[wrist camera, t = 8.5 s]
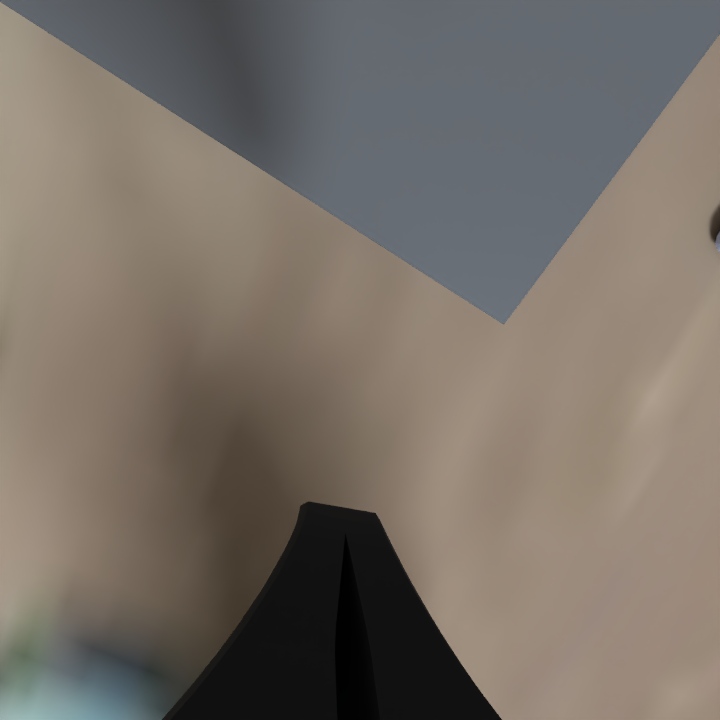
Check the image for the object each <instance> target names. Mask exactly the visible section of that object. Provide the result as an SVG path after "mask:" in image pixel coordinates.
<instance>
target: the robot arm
mask: <svg viewBox="0 0 720 720" xmlns="http://www.w3.org/2000/svg"><path fill="white" fill-rule="evenodd" d="M715 243H716V248H717V250H718V251H719V252H720V232H719V234H718V235H717V238H716V242H715ZM162 720H502V719H501V718H500V717H499V715H498V714H497V713H496V711H495V710H494V709H493V707H492V706H491V705H490V704H489V702H488V701H487V700H486V698H485V697H484V696H483V694H482V693H481V692H480V690H479V689H478V687H477V686H476V685H475V683H474V682H473V680H472V679H471V677H470V676H469V675H468V673H467V672H466V670H465V669H464V667H463V666H462V664H461V663H460V661H459V660H458V658H457V657H456V655H455V654H454V652H453V651H452V649H451V648H450V646H449V644H448V643H447V641H446V640H445V638H444V637H443V635H442V634H441V632H440V630H439V629H438V627H437V625H436V624H435V622H434V621H433V619H432V617H431V616H430V614H429V612H428V610H427V609H426V607H425V605H424V604H423V602H422V600H421V598H420V597H419V595H418V593H417V591H416V590H415V588H414V586H413V584H412V583H411V581H410V579H409V577H408V575H407V573H406V571H405V570H404V568H403V566H402V564H401V562H400V560H399V558H398V556H397V554H396V552H395V550H394V548H393V546H392V544H391V542H390V540H389V538H388V536H387V534H386V532H385V530H384V528H383V526H382V524H381V521H380V519H379V518H378V516H377V515H376V513H372V512H366V511H360V510H354V509H349V508H343V507H337V506H331V505H325V504H320V503H314V502H306V503H305V504H303V505H301V506H300V511H299V515H298V520H297V523H296V526H295V529H294V531H293V533H292V536H291V538H290V540H289V542H288V544H287V546H286V548H285V550H284V552H283V554H282V556H281V558H280V559H279V561H278V563H277V565H276V566H275V568H274V570H273V572H272V574H271V575H270V577H269V579H268V581H267V582H266V584H265V585H264V587H263V589H262V590H261V592H260V593H259V595H258V596H257V598H256V599H255V601H254V602H253V604H252V605H251V607H250V608H249V610H248V611H247V613H246V614H245V616H244V617H243V619H242V620H241V622H240V623H239V625H238V626H237V627H236V629H235V630H234V632H233V633H232V634H231V636H230V637H229V638H228V640H227V641H226V642H225V644H224V645H223V646H222V648H221V649H220V650H219V652H218V653H217V654H216V656H215V657H214V658H213V659H212V661H211V662H210V663H209V664H208V666H207V667H206V668H205V669H204V671H203V672H202V673H201V674H200V676H199V677H198V678H197V679H196V681H195V682H194V683H193V684H192V686H191V687H190V688H189V689H188V690H187V691H186V692H185V694H184V695H183V696H182V697H181V698H180V699H179V701H178V702H177V703H176V704H175V705H174V706H173V708H172V709H171V710H170V711H169V712H168V713H167V715H166V716H165V717H164V718H163V719H162Z"/></svg>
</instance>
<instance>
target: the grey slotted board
mask: <svg viewBox="0 0 720 720" xmlns="http://www.w3.org/2000/svg"><path fill="white" fill-rule="evenodd" d="M0 2H1V3H3V4H5V5H6V6H8V7H9V8H11V9H12V10H14V11H15V12H17V13H19V14H20V15H22V16H23V17H25V18H26V19H28V20H30V21H31V22H33V23H34V24H36V25H37V26H39V27H40V28H42V29H44V30H45V31H47V32H48V33H50V34H51V35H53V36H54V37H56V38H58V39H59V40H61V41H62V42H64V43H65V44H67V45H69V46H70V47H72V48H73V49H75V50H76V51H78V52H79V53H81V54H83V55H84V56H86V57H87V58H89V59H90V60H92V61H93V62H95V63H97V64H98V65H100V66H101V67H103V68H104V69H106V70H107V71H109V72H111V73H112V74H114V75H115V76H117V77H118V78H120V79H122V80H123V81H125V82H126V83H128V84H129V85H131V86H132V87H134V88H136V89H137V90H139V91H140V92H142V93H143V94H145V95H146V96H148V97H150V98H151V99H153V100H154V101H156V102H157V103H159V104H161V105H162V106H164V107H165V108H167V109H168V110H170V111H171V112H173V113H175V114H176V115H178V116H179V117H181V118H182V119H184V120H185V121H187V122H189V123H190V124H192V125H193V126H195V127H196V128H198V129H200V130H201V131H203V132H204V133H206V134H207V135H209V136H210V137H212V138H214V139H215V140H217V141H218V142H220V143H221V144H223V145H224V146H226V147H228V148H229V149H231V150H232V151H234V152H235V153H237V154H238V155H240V156H242V157H243V158H245V159H246V160H248V161H249V162H251V163H253V164H254V165H256V166H257V167H259V168H260V169H262V170H263V171H265V172H267V173H268V174H270V175H271V176H273V177H274V178H276V179H277V180H279V181H281V182H282V183H284V184H285V185H287V186H288V187H290V188H292V189H293V190H295V191H296V192H298V193H299V194H301V195H302V196H304V197H306V198H307V199H309V200H310V201H312V202H313V203H315V204H316V205H318V206H320V207H321V208H323V209H324V210H326V211H327V212H329V213H331V214H332V215H334V216H335V217H337V218H338V219H340V220H341V221H343V222H345V223H346V224H348V225H349V226H351V227H352V228H354V229H355V230H357V231H359V232H360V233H362V234H363V235H365V236H366V237H368V238H369V239H371V240H373V241H374V242H376V243H377V244H379V245H380V246H382V247H384V248H385V249H387V250H388V251H390V252H391V253H393V254H394V255H396V256H398V257H399V258H401V259H402V260H404V261H405V262H407V263H408V264H410V265H412V266H413V267H415V268H416V269H418V270H419V271H421V272H423V273H424V274H426V275H427V276H429V277H430V278H432V279H433V280H435V281H437V282H438V283H440V284H441V285H443V286H444V287H446V288H447V289H449V290H451V291H452V292H454V293H455V294H457V295H458V296H460V297H462V298H463V299H465V300H466V301H468V302H469V303H471V304H472V305H474V306H476V307H477V308H479V309H480V310H482V311H483V312H485V313H486V314H488V315H490V316H491V317H493V318H494V319H496V320H497V321H499V322H500V323H502V324H505V322H506V321H507V320H508V318H509V317H510V316H511V314H512V313H513V312H514V310H515V309H516V308H517V306H518V305H519V303H520V302H521V301H522V299H523V298H524V297H525V295H526V294H527V293H528V291H529V290H530V289H531V287H532V286H533V285H534V283H535V282H536V281H537V279H538V278H539V277H540V275H541V274H542V273H543V271H544V270H545V268H546V267H547V266H548V264H549V263H550V262H551V260H552V259H553V258H554V256H555V255H556V254H557V252H558V251H559V250H560V248H561V247H562V246H563V244H564V243H565V242H566V240H567V239H568V238H569V236H570V235H571V234H572V232H573V231H574V229H575V228H576V227H577V225H578V224H579V223H580V221H581V220H582V219H583V217H584V216H585V215H586V213H587V212H588V211H589V209H590V208H591V207H592V205H593V204H594V203H595V201H596V200H597V199H598V197H599V196H600V194H601V193H602V192H603V190H604V189H605V188H606V186H607V185H608V184H609V182H610V181H611V180H612V178H613V177H614V176H615V174H616V173H617V172H618V170H619V169H620V168H621V166H622V165H623V164H624V162H625V161H626V159H627V158H628V157H629V155H630V154H631V153H632V151H633V150H634V149H635V147H636V146H637V145H638V143H639V142H640V141H641V139H642V138H643V137H644V135H645V134H646V133H647V131H648V130H649V129H650V127H651V126H652V125H653V123H654V122H655V120H656V119H657V118H658V116H659V115H660V114H661V112H662V111H663V110H664V108H665V107H666V106H667V104H668V103H669V102H670V100H671V99H672V98H673V96H674V95H675V94H676V92H677V91H678V90H679V88H680V87H681V85H682V84H683V83H684V81H685V80H686V79H687V77H688V76H689V75H690V73H691V72H692V71H693V69H694V68H695V67H696V65H697V64H698V63H699V61H700V60H701V59H702V57H703V56H704V55H705V53H706V52H707V50H708V49H709V48H710V46H711V45H712V44H713V42H714V41H715V40H716V38H717V37H718V36H719V34H720V0H0Z"/></svg>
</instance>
